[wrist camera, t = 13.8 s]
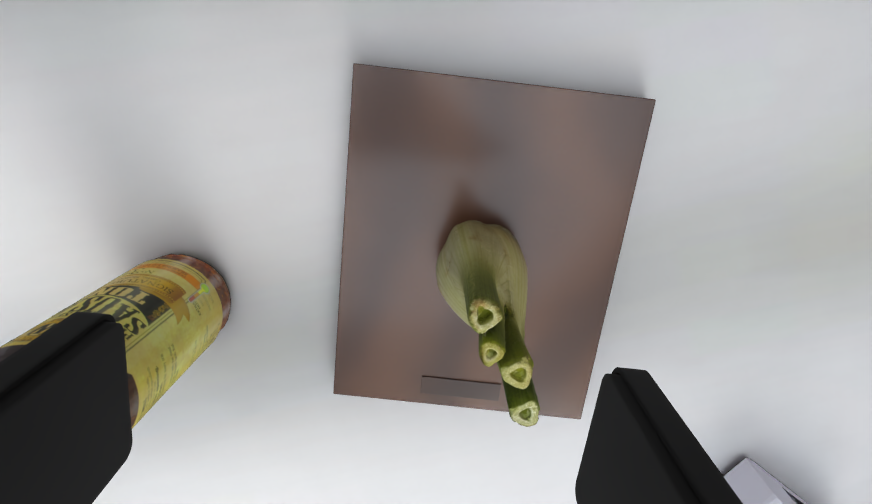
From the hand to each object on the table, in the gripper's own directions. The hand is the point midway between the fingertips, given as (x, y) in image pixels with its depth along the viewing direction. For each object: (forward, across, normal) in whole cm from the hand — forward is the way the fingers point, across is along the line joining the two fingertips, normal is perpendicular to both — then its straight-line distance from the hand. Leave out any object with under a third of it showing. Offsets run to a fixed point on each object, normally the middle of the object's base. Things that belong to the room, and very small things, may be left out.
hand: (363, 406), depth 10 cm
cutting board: (+22, -5, +4) cm, 22 cm away
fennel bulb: (+20, -4, +4) cm, 21 cm away
